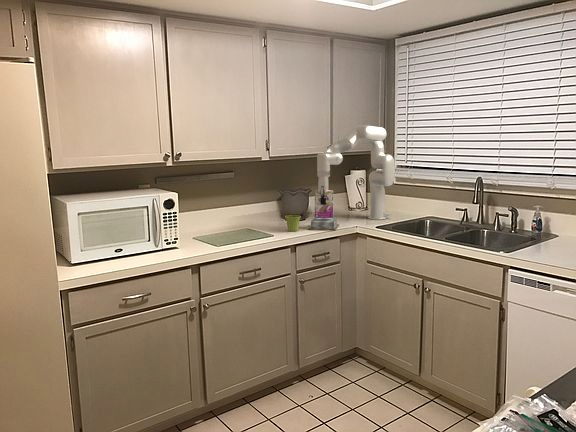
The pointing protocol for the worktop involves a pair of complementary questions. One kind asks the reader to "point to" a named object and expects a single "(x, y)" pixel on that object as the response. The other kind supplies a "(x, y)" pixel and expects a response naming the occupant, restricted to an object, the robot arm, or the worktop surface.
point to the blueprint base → (324, 224)
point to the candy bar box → (327, 209)
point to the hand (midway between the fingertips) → (324, 203)
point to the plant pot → (292, 222)
